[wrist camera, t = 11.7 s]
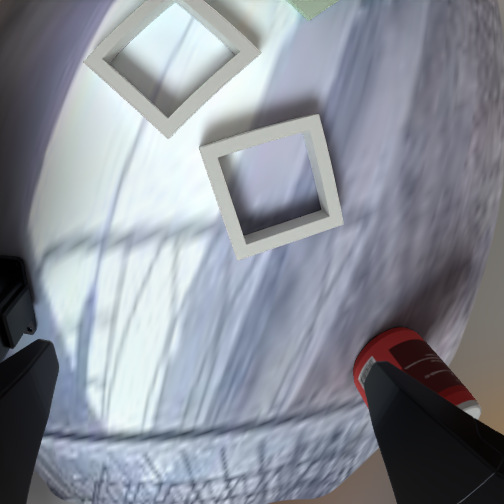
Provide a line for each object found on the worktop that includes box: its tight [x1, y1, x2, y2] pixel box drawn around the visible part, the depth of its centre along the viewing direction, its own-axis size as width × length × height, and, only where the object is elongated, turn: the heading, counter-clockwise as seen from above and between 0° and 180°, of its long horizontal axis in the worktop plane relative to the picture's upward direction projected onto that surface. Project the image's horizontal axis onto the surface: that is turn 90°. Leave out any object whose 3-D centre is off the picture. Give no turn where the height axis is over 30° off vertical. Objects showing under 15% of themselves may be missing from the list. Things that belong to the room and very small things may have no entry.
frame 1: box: [83, 0, 262, 139], centre depth 15 cm, size 7×7×2 cm
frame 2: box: [199, 114, 344, 261], centre depth 19 cm, size 7×7×2 cm
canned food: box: [353, 327, 481, 420], centre depth 23 cm, size 8×8×11 cm
